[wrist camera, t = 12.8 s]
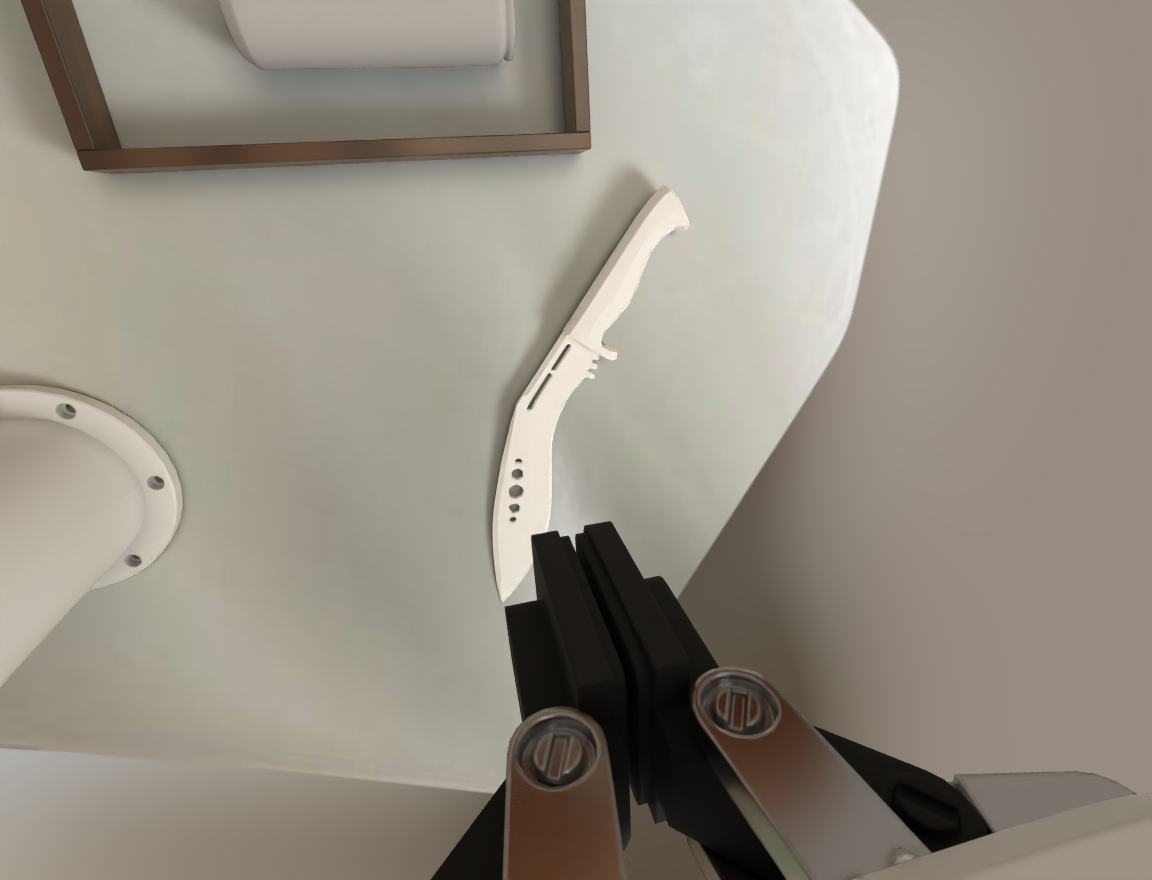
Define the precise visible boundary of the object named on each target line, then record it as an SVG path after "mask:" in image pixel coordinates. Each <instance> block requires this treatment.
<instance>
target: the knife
mask: <svg viewBox="0 0 1152 880" xmlns="http://www.w3.org/2000/svg"><path fill="white" fill-rule="evenodd" d="M689 226H690V223H689V220H688V217H687V214H686V212H685V210H684V208H683V206H682V203H681V202H680V200H679V198H678V197H677V195H676V194H675V193H674V192H673V191H672V190H671V189H670V188H669V187H668V186H666V185H662V186H661V187H660V188H659V189H658V190H657V191H656V192H655V193H654V194H653V196H652V197H651V198H650V199H649V200H648V202H647V203H646V204H645V206H644V207H643V208H642V209H641V211H640V212H639V213H638V215H637V216H636V218H635V219H634V221H633V222H632V224H631V225H630V227H629V228H628V230H627V231H626V233H625V234H624V236H623V237H622V239H621V241H620V242H619V244H618V245H617V247H616V248H615V250H614V251H613V253H612V255H611V256H610V258H609V259H608V261H607V262H606V264H605V265H604V267H603V269H602V270H601V272H600V273H599V275H598V276H597V278H596V279H595V281H594V283H593V284H592V286H591V287H590V289H589V290H588V292H587V293H586V295H585V297H584V298H583V300H582V301H581V303H580V304H579V306H578V308H577V309H576V311H575V312H574V314H573V315H572V317H571V318H570V320H569V321H568V323H567V324H566V325H565V327H564V329H563V332H562V334H561V335H560V337H559V339H558V340H557V342H556V343H555V345H554V346H553V348H552V349H551V351H550V353H549V354H548V356H547V357H546V359H545V360H544V362H543V363H542V365H541V367H540V368H539V370H538V371H537V373H536V374H535V376H534V377H533V379H532V381H531V382H530V384H529V385H528V387H527V388H526V390H525V391H524V393H523V394H522V395H521V396H520V398H519V400H518V401H517V403H516V407H515V411H514V414H513V417H512V420H511V423H510V427H509V432H508V436H507V440H506V445H505V449H504V453H503V458H502V462H501V468H500V473H499V478H498V484H497V490H496V497H495V504H494V512H493V529H492V532H493V554H494V565H495V573H496V580H497V585H498V591H499V595H500V599H501V603H502V602H503V601H505V600H506V599H507V598H508V597H509V595H510V594H511V593H512V592H513V591H514V590H515V588H516V587H517V586H518V584H519V583H520V582H521V580H522V579H523V578H524V576H525V575H526V573H527V572H528V570H529V568H530V567H531V565H532V564H533V556H532V546H531V535H534V534H540V533H546V532H547V529H548V524H549V518H550V512H551V498H552V465H551V454H552V442H553V435H554V431H555V427H556V423H557V420H558V417H559V415H560V413H561V410H562V408H563V406H564V405H565V403H566V401H567V399H568V398H569V396H570V395H571V393H572V392H573V390H574V389H575V388H576V387H577V386H578V385H579V384H580V383H581V382H582V380H583V378H586V377H587V378H592V379H594V377H595V373H593V372H589V371H587V370H588V369H589V368H591V369H597V364H596V363H593V362H592V360H593V359H594V360H599V357H600V355H601V356H602V357H604V358H606V359H608V360H616V358H617V350H616V349H615V348H613V347H611V346H605V345H603V344H601V338H602V336H603V333H604V331H605V330H606V329H607V328H608V327H609V326H610V325H611V324H612V323H613V322H614V321H615V320H616V319H617V318H618V317H619V316H620V314H621V313H622V312H623V311H624V310H625V308H626V307H627V306H628V305H629V303H630V301H631V299H632V297H633V295H634V293H635V291H636V289H637V287H638V284H639V282H640V279H641V276H642V274H643V271H644V268H645V265H646V263H647V260H648V257H649V255H650V254H651V252H652V250H653V249H654V247H655V246H656V245H657V244H658V243H659V242H660V241H661V240H662V239H663V238H664V237H665V236H666V235H667V234H669V233H670V232H671V231H673V230H677V229H679V230H686V229H688V228H689ZM567 344H570V346H569V348H568V349H567V351H566V352H565V354H564V356H563V357H562V359H561V360H560V362H559V363H558V365H557V366H556V368H555V369H554V370H552V367H553V365H554V364H555V362H556V361H557V359H558V357H559V356H560V354H561V353H562V351H563V350H564V348H565V346H566V345H567ZM548 373H550V374H551V376H550V378H549V379H548V381H547V382H546V384H545V385H544V387H543V388H542V390H541V391H540V393H539V395H538V396H537V398H536V400H535V401H534V403H533V405H532V407H531V409H527V407H528V405H529V403H530V401H531V400H532V398H533V397H534V395H535V393H536V392H537V390H538V389H539V387H540V385H541V384H542V382H543V381H544V379H545V378H546V376H547V375H548ZM518 458H519V459H521V461H522V462H515V460H516V459H518ZM515 469H520V470H522V471H523V476H521V477H518V478H515V477H513V476H512V471H513V470H515ZM516 484H517V485H519V486H521V487H522V488H523V491H522V493H521V495H519V496H517V497H514V496H511V495H509V492H508V491H509V489H510V487H511V486H514V485H516ZM514 503H516V504H518V505H519V510H517V511H514V512H512V511H511V510H510V509H509V505H511V504H514ZM511 517H515V518H516V520H514V521H510V518H511Z"/></svg>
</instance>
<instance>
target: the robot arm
mask: <svg viewBox="0 0 1152 880" xmlns="http://www.w3.org/2000/svg"><path fill="white" fill-rule="evenodd" d="M71 406H72V407H73V408H74V409H73V408H72V407H71ZM159 477H160V478H162V479H160V478H159ZM182 508H183V500H182V487H181V484H180V481H179V478H178V475H177V472H176V469H175V467H174V466H173V464H172V462H171V460H170V459H169V457H168V455H167V453H166V452H165V451H164V449H163V448H162V447H161V446H160V445H159V443H158V442H157V441H156V440H155V439H154V438H153V436H152V435H151V434H150V433H148V432H147V431H146V430H145V429H144V428H142V427H141V426H140V425H139V424H138V423H136V422H135V421H134V420H133V419H131V418H130V417H128V416H126V415H125V414H123V413H121V412H120V411H118V410H116V409H115V408H113V407H112V406H110V405H107V404H105V403H103V402H100V401H98V400H96V399H93V398H91V397H89V396H86V395H83V394H79V393H75V392H72V391H68V390H64V389H61V388H55V387H47V386H39V385H2V386H0V686H1V685H2V684H3V683H4V682H5V681H6V680H7V679H8V678H9V677H10V676H11V674H12V673H13V672H14V671H15V670H16V669H17V668H18V667H19V666H20V665H21V664H22V662H23V661H24V660H25V659H26V658H27V657H28V656H29V655H30V654H31V653H32V652H33V650H34V649H35V648H36V647H37V646H38V645H39V644H40V643H41V642H42V641H43V640H44V639H45V637H46V636H47V635H48V634H49V633H50V632H51V631H52V630H53V629H54V628H55V627H56V625H57V624H58V623H59V622H60V621H61V620H62V619H63V618H64V617H65V616H66V615H67V613H68V612H69V611H70V610H71V609H72V608H73V607H74V606H75V605H76V604H77V603H78V602H79V600H80V599H81V598H82V597H83V596H84V595H85V594H86V593H87V592H88V591H89V590H91V589H95V588H99V587H104V586H108V585H112V584H115V583H117V582H119V581H122V580H124V579H127V578H129V577H131V576H133V575H135V574H136V573H138V572H139V571H141V570H142V569H144V568H145V567H147V566H149V565H150V564H151V563H152V562H153V561H154V560H155V559H156V558H157V557H158V556H159V555H160V554H161V553H162V552H163V550H164V549H165V548H166V546H167V545H168V544H169V542H170V541H171V540H172V538H173V536H174V534H175V532H176V530H177V528H178V525H179V523H180V519H181V514H182ZM575 542H576V552H575V549H574V547H573V545H572V542H571V540H570V537H569V536H563V537H560V535H559V533H558V531H551V532H546V533H540V534H534V535H531V546H532V556H533V565H534V575H535V584H536V594H537V600H536V601H531V602H526V603H521V604H516V605H511V606H506V607H505V614H506V622H507V629H508V637H509V644H510V651H511V657H512V664H513V670H514V676H515V683H516V688H517V694H518V700H519V706H520V712H521V718H522V723H521V724H520V725H519V726H518V727H517V729H516V730H515V732H514V734H513V736H512V737H511V739H510V742H509V747H508V752H507V769H506V779H505V781H504V782H503V783H502V785H501V786H500V787H499V789H498V790H497V791H496V793H495V794H494V795H493V797H492V798H491V800H490V801H489V802H488V803H487V805H486V806H485V807H484V809H483V810H482V811H481V813H480V814H479V815H478V817H477V818H476V819H475V821H474V822H473V823H472V825H471V826H470V827H469V829H468V830H467V832H466V833H465V834H464V835H463V837H462V838H461V840H460V841H459V842H458V844H457V845H456V846H455V848H454V849H453V850H452V852H451V853H450V854H449V856H448V857H447V858H446V860H445V861H444V862H443V864H442V865H441V866H440V868H439V869H438V871H437V872H436V873H435V875H434V876H433V877H432V879H431V880H628V879H627V872H626V865H625V859H624V850H625V848H626V846H627V844H628V842H629V840H630V838H631V825H630V790H629V783H630V786H631V789H632V792H633V795H634V797H635V800H636V802H637V804H638V805H642V804H645V803H648V805H649V808H650V811H651V814H652V817H653V819H654V822H655V823H660V822H663V821H667V822H668V825H669V826H670V827H672V828H673V829H675V830H677V831H679V832H681V833H682V834H684V835H686V836H687V842H688V844H689V847H690V849H691V852H692V855H693V856H694V858H695V860H696V862H697V864H698V865H699V867H700V869H701V871H702V873H703V874H704V876H705V878H706V879H707V880H1152V793H1145V794H1136V793H1134V792H1133V791H1131V790H1129V789H1128V788H1126V787H1124V786H1123V785H1121V784H1119V783H1118V782H1116V781H1113V780H1110V779H1108V778H1105V777H1103V776H1100V775H1097V774H1093V773H1086V772H1078V771H1066V772H1029V773H992V774H957V775H955V777H954V780H953V782H946V781H945V780H944V779H942V778H940V777H938V776H936V775H934V774H932V773H930V772H928V771H926V770H923V769H921V768H918V767H916V766H914V765H911V764H909V763H906V762H903V761H901V760H898V759H896V758H893V757H891V756H888V755H886V754H883V753H881V752H878V751H876V750H873V749H871V748H868V747H866V746H863V745H861V744H858V743H856V742H853V741H851V740H848V739H845V738H843V737H840V736H838V735H835V734H833V733H830V732H828V731H825V730H823V729H820V728H818V727H815V726H813V725H812V724H811V723H810V722H809V721H808V720H807V719H806V718H805V717H804V716H803V715H802V713H801V712H800V711H799V710H798V709H797V708H796V707H795V706H794V705H793V704H792V703H791V702H790V701H789V700H788V699H787V698H786V696H785V695H784V694H783V693H782V692H781V691H780V690H779V689H778V688H777V687H776V686H775V685H774V684H772V683H771V682H770V681H769V680H768V679H766V678H765V677H763V676H762V675H759V674H758V673H755V672H754V671H751V670H747V669H743V668H740V667H720V668H719V666H718V665H717V663H716V662H715V660H714V658H713V657H712V655H711V654H710V652H709V650H708V649H707V647H706V646H705V644H704V643H703V641H702V639H701V638H700V636H699V635H698V633H697V631H696V630H695V628H694V627H693V625H692V623H691V622H690V620H689V618H688V617H687V615H686V614H685V612H684V610H683V609H682V607H681V606H680V604H679V602H678V601H677V599H676V598H675V596H674V594H673V593H672V591H671V589H670V588H669V586H668V585H667V583H666V582H665V580H664V579H663V578H662V577H660V576H656V577H651V578H646V579H644V578H643V576H642V575H641V573H640V571H639V569H638V568H637V566H636V564H635V562H634V561H633V559H632V557H631V555H630V554H629V552H628V550H627V548H626V547H625V545H624V543H623V541H622V540H621V538H620V536H619V534H618V533H617V531H616V529H615V527H614V525H613V524H612V522H610V521H608V522H602V523H597V524H591V525H585V526H584V533H580V534H576V536H575Z"/></svg>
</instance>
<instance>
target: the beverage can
mask: <svg viewBox="0 0 1152 880" xmlns="http://www.w3.org/2000/svg"><path fill="white" fill-rule="evenodd" d="M218 2H219V5H220V8H221V11H222V14H223V17H224V20H225V22H226V25H227V28H228V30H229V32H230V35H231V37H232V39H233V41H234V43H235V45H236V47H237V49H238V51H239V52H240V54H241V55H242V56H243V58H245V59H246V60H247V61H249V62H250V63H252V64H253V65H255V66H257V67H258V68H260V69H263V70H275V69H320V68H415V67H448V66H482V65H497V64H499V62H500V61H501V60H502V58H504V59H505V60H506V61H511V60H512V58H513V53H514V41H515V21H514V0H218Z"/></svg>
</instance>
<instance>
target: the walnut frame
mask: <svg viewBox="0 0 1152 880" xmlns="http://www.w3.org/2000/svg"><path fill="white" fill-rule="evenodd" d="M21 2H22V5H23V8H24V11H25V13H26V16H27V19H28V21H29V24H30V27H31V30H32V32H33V35H34V38H35V40H36V43H37V46H38V49H39V51H40V54H41V57H42V59H43V62H44V65H45V68H46V70H47V73H48V76H49V78H50V81H51V84H52V87H53V89H54V92H55V95H56V97H57V100H58V103H59V106H60V108H61V111H62V114H63V117H64V119H65V122H66V125H67V127H68V130H69V133H70V136H71V138H72V141H73V144H74V146H75V149H76V150H78V151H77V155H78V157H79V160H80V163H81V166H82V168H83V170H85V171H92V172H101V173H109V174H124V173H146V172H169V171H192V170H214V169H237V168H260V167H282V166H305V165H327V164H350V163H373V162H395V161H418V160H441V159H463V158H486V157H509V156H531V155H554V154H577V153H582V152H584V151H586V150H589V149H591V133H590V108H589V83H588V59H587V34H586V10H585V0H558V5H559V23H560V41H561V58H562V76H563V94H564V111H565V129H566V133H545V134H518V135H490V136H463V137H436V138H409V139H381V140H354V141H327V142H299V143H272V144H245V145H218V146H190V147H163V148H136V149H121V146H120V143H119V140H118V137H117V134H116V131H115V128H114V125H113V122H112V119H111V116H110V114H109V111H108V108H107V105H106V102H105V99H104V96H103V93H102V90H101V87H100V84H99V81H98V78H97V75H96V72H95V69H94V66H93V63H92V60H91V57H90V54H89V52H88V49H87V46H86V43H85V40H84V37H83V34H82V31H81V28H80V25H79V22H78V19H77V16H76V13H75V10H74V7H73V4H72V1H71V0H21Z"/></svg>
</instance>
